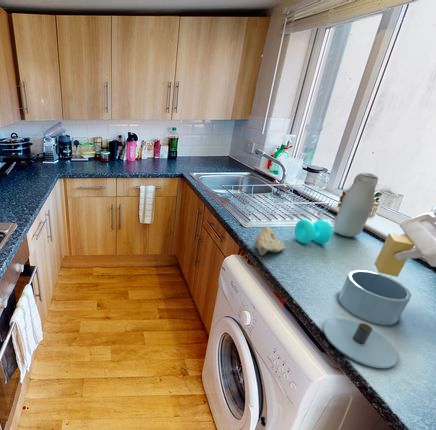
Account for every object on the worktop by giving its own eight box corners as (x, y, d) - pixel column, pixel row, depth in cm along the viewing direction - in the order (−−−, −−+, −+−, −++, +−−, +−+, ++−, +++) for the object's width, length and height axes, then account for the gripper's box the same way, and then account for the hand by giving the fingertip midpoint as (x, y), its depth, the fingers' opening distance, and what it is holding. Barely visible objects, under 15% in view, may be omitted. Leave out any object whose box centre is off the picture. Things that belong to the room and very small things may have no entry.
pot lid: (386, 335, 75) (395, 319, 73) (404, 381, 63) (416, 363, 61) (320, 314, 82) (326, 298, 79) (325, 352, 70) (333, 335, 68)
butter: (392, 267, 80) (408, 236, 76) (397, 277, 76) (414, 244, 72) (374, 263, 82) (388, 232, 78) (378, 272, 78) (394, 240, 74)
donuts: (290, 235, 124) (297, 215, 120) (314, 236, 124) (321, 215, 120) (303, 247, 115) (311, 225, 111) (328, 248, 115) (337, 226, 111)
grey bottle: (351, 231, 130) (375, 171, 118) (363, 241, 121) (391, 178, 109) (326, 228, 132) (348, 169, 120) (336, 238, 123) (361, 176, 111)
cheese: (267, 245, 120) (243, 224, 117) (284, 238, 116) (260, 216, 112) (270, 274, 110) (245, 252, 106) (289, 267, 105) (263, 244, 101)
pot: (390, 301, 87) (402, 279, 83) (404, 332, 76) (419, 307, 73) (336, 287, 93) (345, 265, 89) (342, 313, 82) (353, 289, 79)
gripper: (494, 259, 60) (412, 281, 68) (451, 222, 76) (388, 244, 85) (476, 235, 60) (395, 260, 69) (436, 203, 76) (375, 227, 85)
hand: (391, 251), depth 77 cm, fingers closed on butter, 5 cm apart
